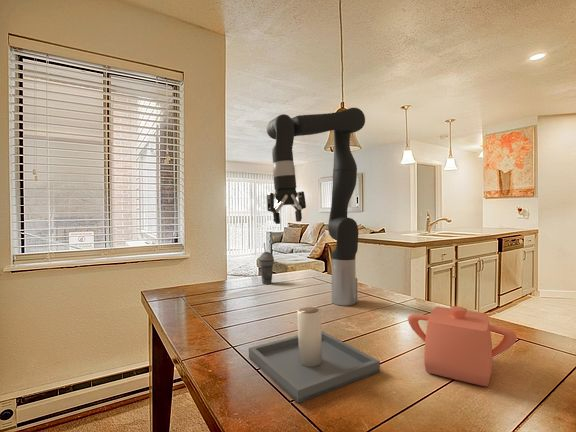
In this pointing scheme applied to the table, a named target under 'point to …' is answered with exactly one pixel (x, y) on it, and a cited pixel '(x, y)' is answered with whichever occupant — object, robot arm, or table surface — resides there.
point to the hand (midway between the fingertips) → (288, 222)
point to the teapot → (460, 343)
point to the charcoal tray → (312, 380)
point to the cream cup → (309, 336)
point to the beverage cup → (266, 266)
